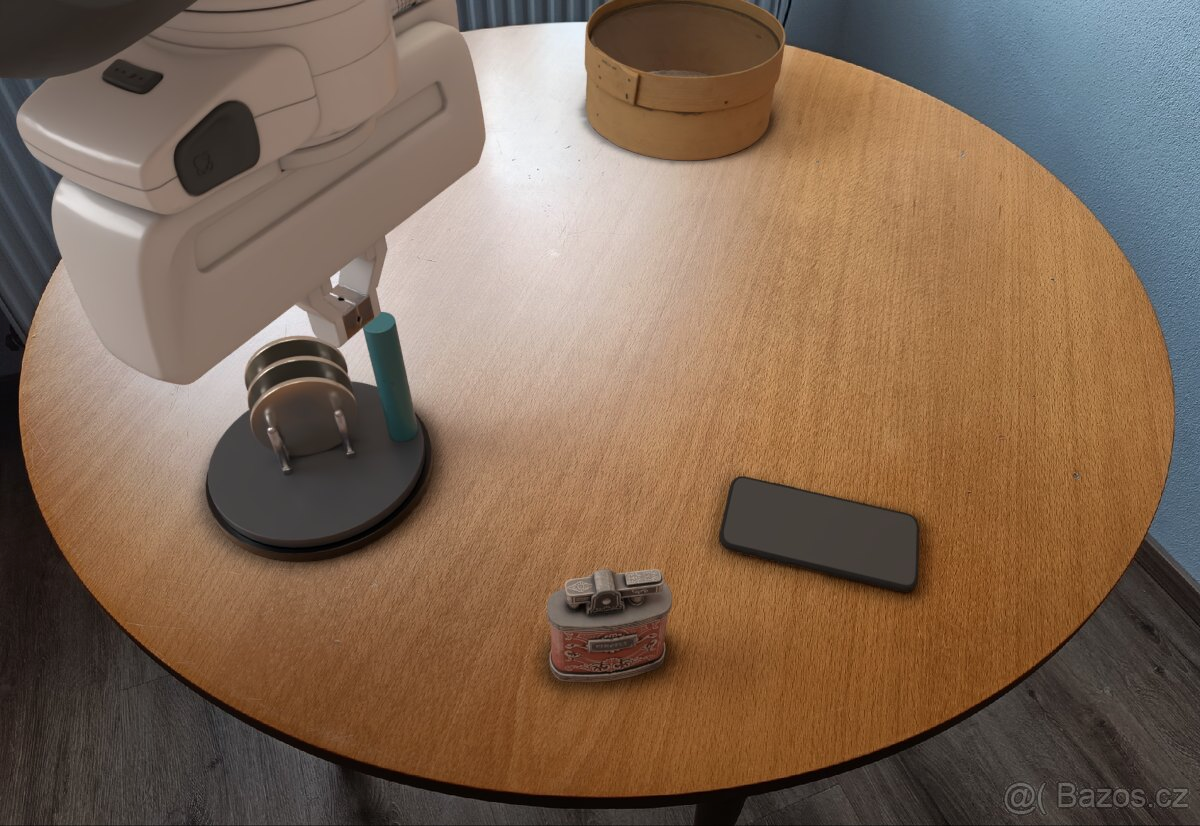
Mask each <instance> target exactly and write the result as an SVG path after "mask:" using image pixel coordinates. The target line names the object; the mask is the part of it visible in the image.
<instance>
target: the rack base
mask: <svg viewBox="0 0 1200 826" xmlns="http://www.w3.org/2000/svg"><path fill="white" fill-rule="evenodd" d="M415 415H416V417H417V418H418V421H419V423H420V425H421V428H422V432H423V437H424V442H425V460H424V465H423V469H422V472H421V475H420V477H419V479H418V481H417V483H416V485H415V487H414V488H413V490H412V491H411V493H410V494H409V496H408V497H407V498H406V499H405V500H404V502H403V503H402V504H401V505H400V506H399V507H398V508H397V509H396V510H395V511H394V512H392V513H391V514H390V515H389V516H388V517H386V518H385V519H383V520H382V521H381V522H379V523H378V524H376V525H374V526H373V527H371V528H369V529H367V530H366V531H364V532H361V533H359V534H357V535H355V536H353V537H350V538H347V539H344V540H341V541H338V542H334V543H330V544H326V545H320V546H313V547H296V548H291V547H280V546H274V545H269V544H264V543H261V542H258V541H256V540H253V539H250V538H248V537H247V536H245V535H243V534H241V533H239V532H238V531H237V530H235V529H234V528H232V527H231V526H230V525H229V524H228V523H227V522H226V521H225V520H224V519H223V517H222V516H221V514H220V513H219V511H218V510H217V508H216V506H215V504H214V502H213V499H212V497H211V494H210V491H209V485H208V471H207V472H206V479H205V497H206V501H207V505H208V509H209V511H210V512H211V515H212V517H213V520H214V521H215V523H216V524H217V526H218V527H219V529H220V530H221V531H222V533H223V534H224V536H226V537H227V538H228V539H229V540H230V541H231V542H232V543H234V544H236V545H237V546H238V547H240V548H242V549H243V550H245V551H248V552H250V553H252V554H254V555H257V556H260V557H264V558H267V559H271V560H277V561H282V562H316V561H322V560H328V559H332V558H336V557H339V556H344V555H347V554H349V553H353V552H355V551H358V550H360V549H363V548H364V547H366V546H368V545H370V544H373V543H375V542H376V541H378V540H380V539H381V538H382V537H384V536H386V535H387V534H389V533H390V532H392V531H393V530H394V529H395V528H397V526H399V525H401V523H402V522H403V521H404V520H405V519H406V518H407V517H408V516H409V515H410V514H411V513H412V512H413V510H414V509H415V508H416V507H417V505H418V504H419V503H420V502H421V499H422V498H423V496H424V494H425V493H426V491H427V489H428V486H429V483H430V481H431V476H432V472H433V469H434V467H433V465H434V454H433V453H434V452H433V445H432V441H431V437H430V434H429V431H428V429H427V427H426V425H425V423H424V421H423V420H422V419H421V417H420V416H419V415H418V413H417V412H415Z"/></svg>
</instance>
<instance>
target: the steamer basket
mask: <svg viewBox="0 0 1200 826" xmlns="http://www.w3.org/2000/svg"><path fill="white" fill-rule="evenodd" d="M786 38H787V37H786V30H785V28H784V26H783V24H781V22H780V21H779V19H778V18H777V17H776V16H775V15H773V14H771V12H769V11H768V10H767V9H765V8H762V7H760V6H758V5H757V4H755V3H752V2H750V1H748V0H609V1H607V2H605V3H603V4H601V5H600V6H598V7H597V8H596V9H595V10H594V11H593V13H592V14H591V15H590V16H589V18H588V20H587V23H586V26H585V38H584V39H585V40H584V69H585V71H586V85H585V86H586V87H585V112H586V116H587V120H588V121H589V123H590V125H591V126H592V127H593V129H594V130H595V131H596V132H597V133H598V134H599V135H600V136H601V137H603V138H604V139H606V140H608V141H609V142H611V143H612V144H614V145H616V146H618V147H620V148H622V149H625V150H627V151H629V152H632V153H635V154H639V155H642V156H646V157H651V158H656V159H660V160H673V161H703V160H704V161H705V160H711V159H717V158H721V157H725V156H729V155H732V154H735V153H738V152H740V151H743V150H745V149H746V148H749V147H750V146H752V145H753V144H755V143H756V142H757V141H758V140H759V139H761V137H762V136H763V135H764V134H765V133H766V131H767V129H768V126H769V124H770V117H771V110H772V105H773V100H774V99H773V98H774V94H775V88H776V84H777V83H778V81H779V79H780V77H781V71H782V64H783V60H784V52H785V45H786ZM677 72H681V73H682V75H681V73H677ZM664 73H665V74H664ZM674 73H675V74H674ZM689 73H690V74H691V73H692V74H693V75H691V76H690V74H689Z"/></svg>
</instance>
